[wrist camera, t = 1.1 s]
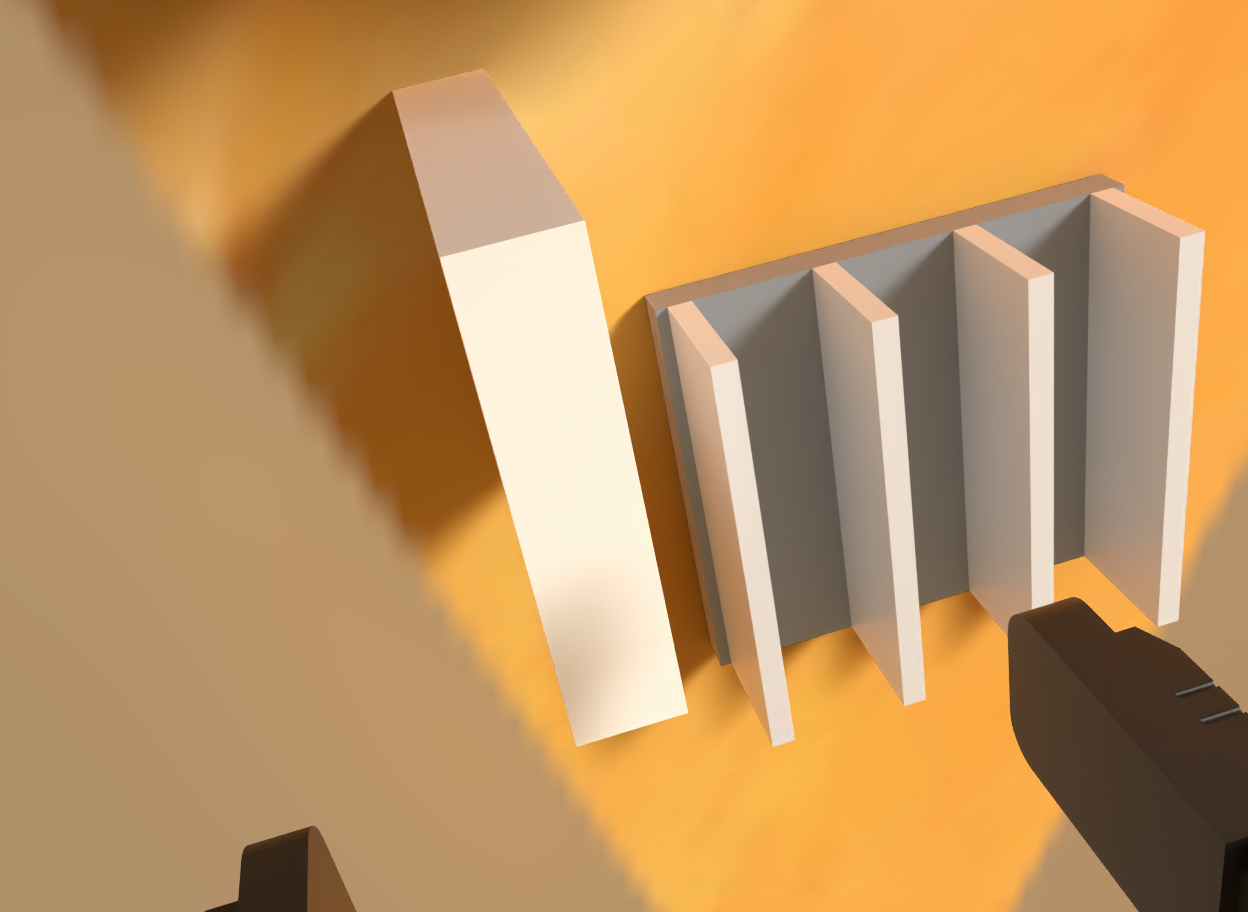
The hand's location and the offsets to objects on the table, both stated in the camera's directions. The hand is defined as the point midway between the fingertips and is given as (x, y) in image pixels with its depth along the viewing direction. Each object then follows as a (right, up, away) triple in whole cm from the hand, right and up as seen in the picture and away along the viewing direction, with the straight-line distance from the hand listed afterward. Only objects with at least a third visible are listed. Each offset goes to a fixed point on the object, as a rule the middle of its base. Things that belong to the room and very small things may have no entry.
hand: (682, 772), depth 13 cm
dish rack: (+7, +4, +19) cm, 20 cm away
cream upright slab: (-4, +8, +14) cm, 17 cm away
